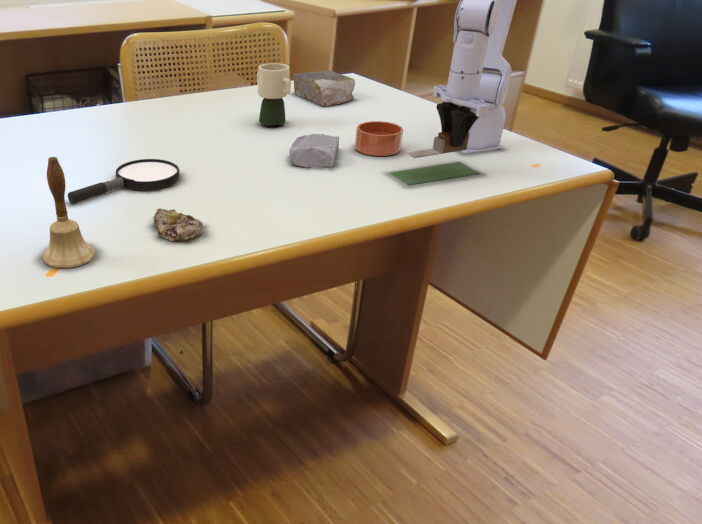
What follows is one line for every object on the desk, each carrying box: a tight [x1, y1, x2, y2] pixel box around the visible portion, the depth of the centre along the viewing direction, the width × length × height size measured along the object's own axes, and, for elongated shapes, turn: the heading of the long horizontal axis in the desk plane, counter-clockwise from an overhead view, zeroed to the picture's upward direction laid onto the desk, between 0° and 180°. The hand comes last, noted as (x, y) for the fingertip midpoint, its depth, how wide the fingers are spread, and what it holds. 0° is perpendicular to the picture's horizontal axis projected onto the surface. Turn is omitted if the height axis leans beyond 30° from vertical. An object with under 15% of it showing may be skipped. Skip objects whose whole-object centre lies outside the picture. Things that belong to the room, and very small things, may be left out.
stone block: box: [288, 133, 340, 169], centre depth 144 cm, size 12×5×10 cm
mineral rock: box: [152, 207, 204, 242], centre depth 116 cm, size 11×4×8 cm
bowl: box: [354, 120, 404, 157], centre depth 146 cm, size 10×10×5 cm
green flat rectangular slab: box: [389, 161, 481, 187], centre depth 136 cm, size 17×7×1 cm, turn 110°
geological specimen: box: [293, 70, 356, 107], centre depth 180 cm, size 11×6×15 cm
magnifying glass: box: [67, 158, 180, 205], centre depth 132 cm, size 12×24×2 cm, turn 132°
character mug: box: [256, 62, 292, 127], centre depth 159 cm, size 11×7×13 cm, turn 40°
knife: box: [406, 131, 470, 159], centre depth 133 cm, size 12×3×3 cm, turn 110°
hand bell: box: [42, 156, 96, 269], centre depth 105 cm, size 8×8×16 cm
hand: (452, 143), depth 134 cm, fingers closed on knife, 2 cm apart
